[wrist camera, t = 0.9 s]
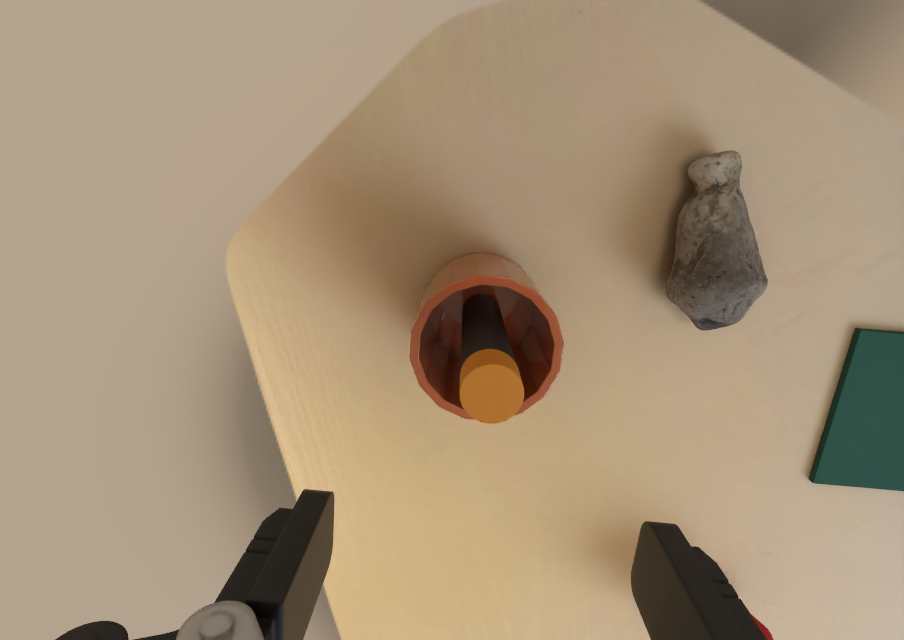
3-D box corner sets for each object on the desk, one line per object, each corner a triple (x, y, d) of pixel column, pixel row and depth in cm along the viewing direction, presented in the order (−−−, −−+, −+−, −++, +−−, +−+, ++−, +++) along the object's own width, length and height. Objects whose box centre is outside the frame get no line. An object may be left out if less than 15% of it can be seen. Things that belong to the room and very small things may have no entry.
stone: (678, 146, 32) (626, 211, 28) (774, 129, 28) (730, 201, 24) (706, 270, 37) (665, 340, 33) (792, 270, 33) (757, 350, 29)
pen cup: (427, 248, 34) (415, 269, 25) (545, 258, 34) (573, 283, 25) (420, 358, 36) (406, 414, 27) (530, 368, 36) (551, 426, 27)
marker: (463, 291, 34) (462, 361, 20) (502, 294, 34) (528, 366, 20) (460, 329, 34) (456, 421, 21) (498, 332, 34) (520, 426, 21)
